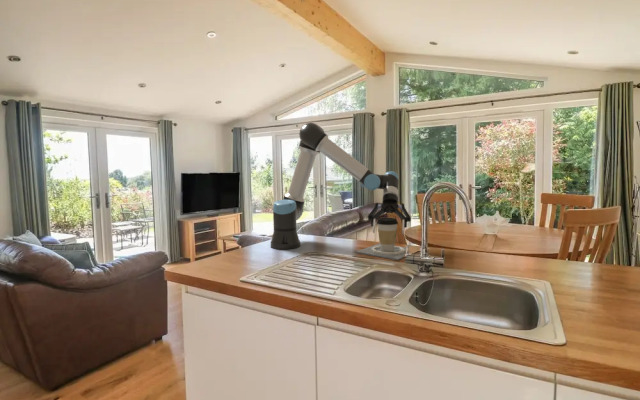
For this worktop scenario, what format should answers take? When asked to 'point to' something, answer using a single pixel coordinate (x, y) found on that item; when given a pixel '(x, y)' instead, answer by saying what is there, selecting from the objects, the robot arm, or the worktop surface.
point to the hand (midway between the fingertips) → (388, 232)
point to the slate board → (376, 251)
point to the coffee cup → (387, 233)
